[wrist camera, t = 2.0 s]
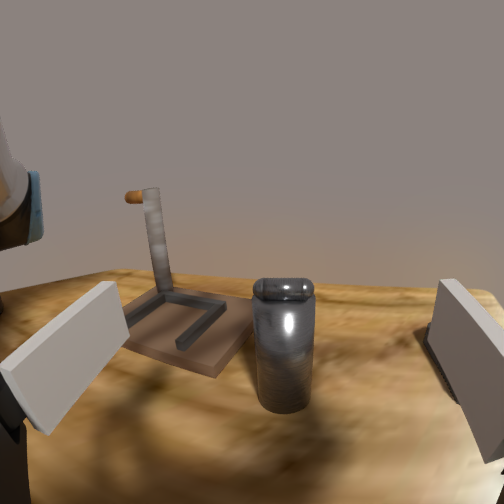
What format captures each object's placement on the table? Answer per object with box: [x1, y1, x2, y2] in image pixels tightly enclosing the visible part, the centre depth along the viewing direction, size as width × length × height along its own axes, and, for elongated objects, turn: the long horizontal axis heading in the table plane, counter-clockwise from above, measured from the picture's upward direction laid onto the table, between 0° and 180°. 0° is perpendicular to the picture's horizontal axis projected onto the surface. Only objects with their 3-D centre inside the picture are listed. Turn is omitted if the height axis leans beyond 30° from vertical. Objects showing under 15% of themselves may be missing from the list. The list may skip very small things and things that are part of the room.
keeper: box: [121, 188, 254, 378], centre depth 36 cm, size 20×14×16 cm
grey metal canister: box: [252, 278, 315, 414], centre depth 24 cm, size 5×5×12 cm
